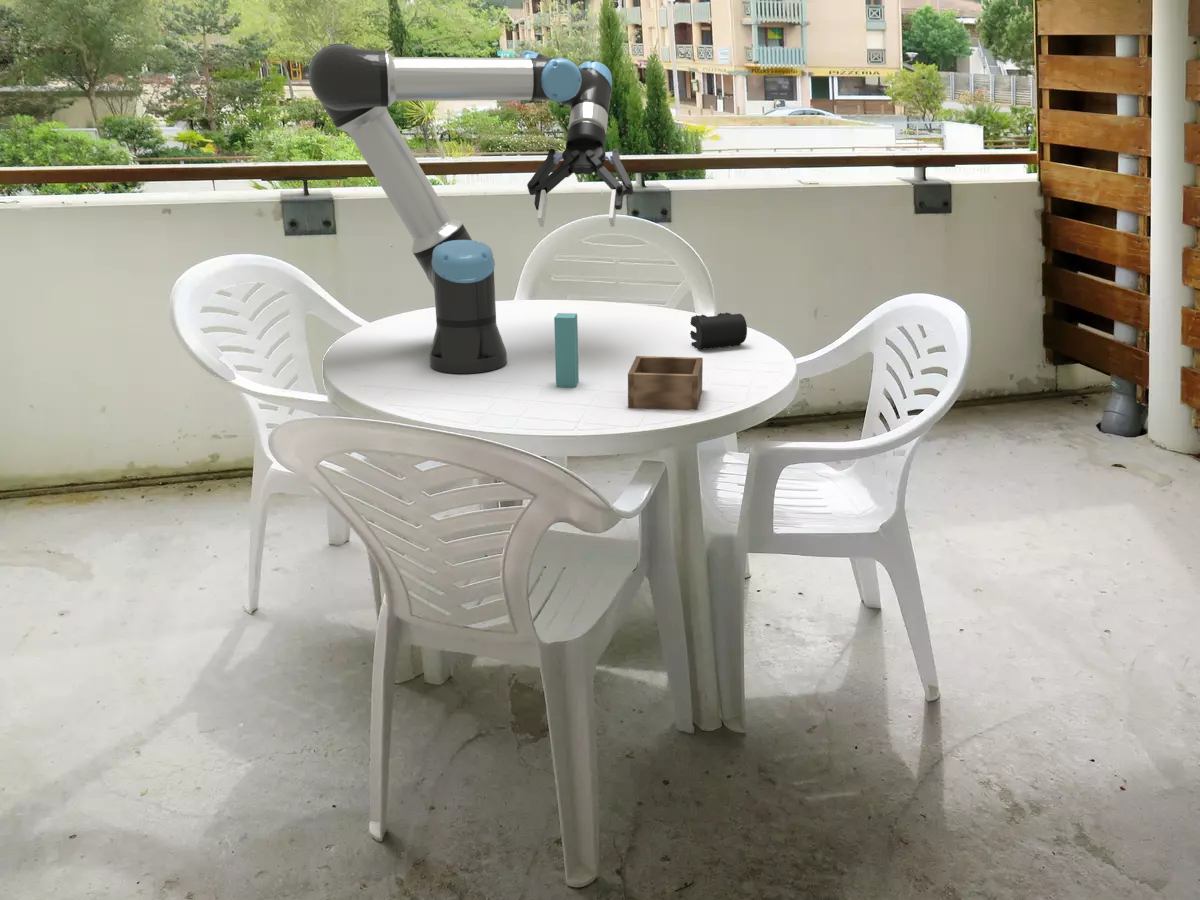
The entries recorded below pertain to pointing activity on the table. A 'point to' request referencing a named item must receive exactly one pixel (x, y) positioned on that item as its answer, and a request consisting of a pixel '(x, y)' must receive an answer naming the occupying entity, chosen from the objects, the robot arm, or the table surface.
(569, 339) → the peg
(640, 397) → the box
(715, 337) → the end cap
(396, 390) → the table surface
